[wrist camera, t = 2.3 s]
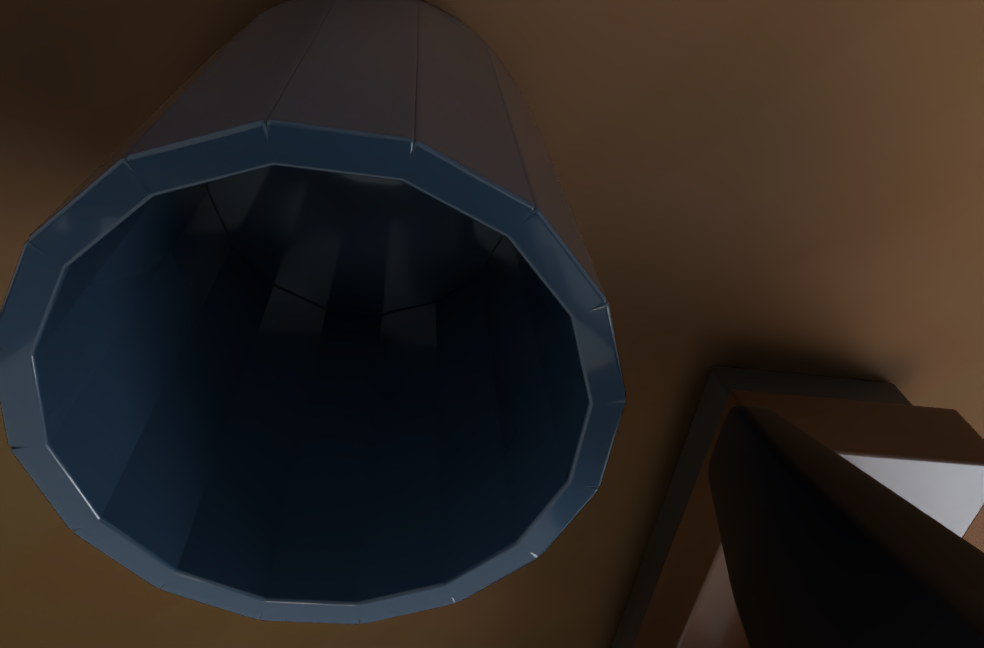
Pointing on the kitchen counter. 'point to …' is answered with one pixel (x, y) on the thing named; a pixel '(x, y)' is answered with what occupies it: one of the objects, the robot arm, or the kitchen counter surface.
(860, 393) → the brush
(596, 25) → the kitchen counter surface
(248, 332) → the cup
